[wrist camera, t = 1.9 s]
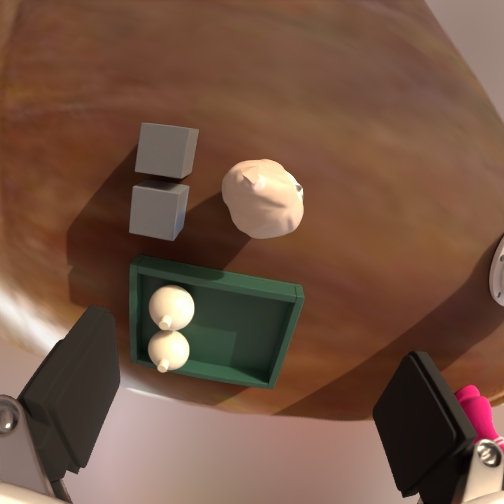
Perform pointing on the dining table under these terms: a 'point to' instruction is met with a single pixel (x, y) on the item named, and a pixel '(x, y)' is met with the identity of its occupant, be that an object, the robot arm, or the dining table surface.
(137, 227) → the grey block
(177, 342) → the white bulb
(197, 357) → the green tray
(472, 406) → the pepper mill
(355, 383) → the dining table surface
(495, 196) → the dining table surface
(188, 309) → the white bulb
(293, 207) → the garlic bulb
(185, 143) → the grey block
